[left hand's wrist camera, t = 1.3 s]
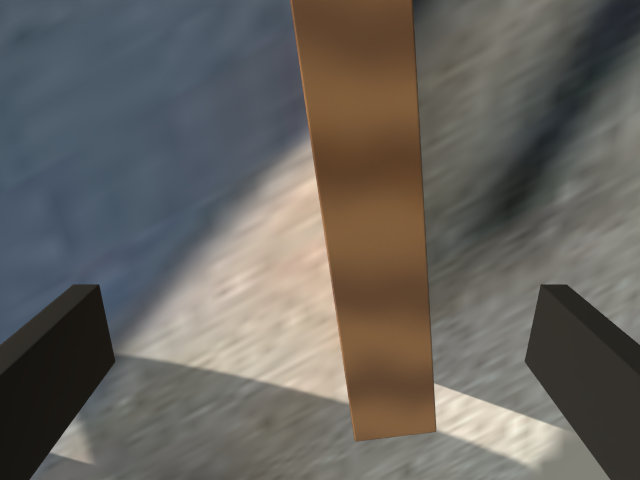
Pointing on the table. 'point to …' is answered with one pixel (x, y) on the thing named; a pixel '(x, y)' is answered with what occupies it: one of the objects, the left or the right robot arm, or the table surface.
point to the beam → (371, 204)
